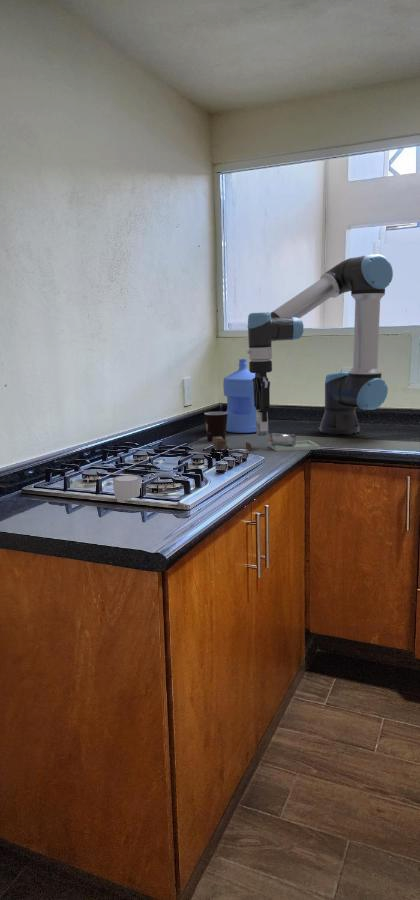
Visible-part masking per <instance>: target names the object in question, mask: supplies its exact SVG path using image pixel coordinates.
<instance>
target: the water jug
mask: <svg viewBox="0 0 420 900" xmlns="http://www.w3.org/2000/svg"><path fill="white" fill-rule="evenodd" d="M247 360H248V359H247V358H240V359H238V361H239V363H238V369H237V370H236V371H234V372H232V373H230V374H229V375H226V376H225V377H224V378H223V384H222V387H223V395H224V397H226V402H227V403H226V404H227V405H226V411H225V412H227V413H228V416H227V426H226V432H228V433H235V434H249V433H250V434H251V433H256V407H254V389H253V378H255V373H251V372H250V371H249V370H248V367H247V366H248V362H247Z"/></svg>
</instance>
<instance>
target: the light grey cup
mask: <svg viewBox="0 0 420 900" xmlns="http://www.w3.org/2000/svg"><path fill="white" fill-rule="evenodd" d="M142 479H143V478H142V476H140V475H135V474H124V475H117V476H115V477H113V478H112V479H111V480H112V486H113V494H114V499H115V498H116V499H117V501H116V502H118V503H125V502H124V501H125V500H128V499H131V498H135V497H138V496H139V494H140V488H141V489H142V484H143V481H142Z"/></svg>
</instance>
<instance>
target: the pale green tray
mask: <svg viewBox="0 0 420 900" xmlns="http://www.w3.org/2000/svg"><path fill="white" fill-rule="evenodd" d="M268 447H269V448H270V449H272V450H274V451H276V452H289V451H290V452H293V451H312V450H315V451H317V450H320V448H321V447H320V445H319V444H318V443H316V442H314V441H312V440H310V439H309V440H296V444H295V446H294V447H293V446H278V445H270V442H268Z"/></svg>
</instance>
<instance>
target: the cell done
mask: <svg viewBox="0 0 420 900" xmlns="http://www.w3.org/2000/svg"><path fill="white" fill-rule="evenodd" d="M268 441H269V443H270V445H278V446H293V447H294V446H295V444H296V441H297V436H296V434H290V433H276V432H275V433H273V432H271V433H270V435H269V437H268Z"/></svg>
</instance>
